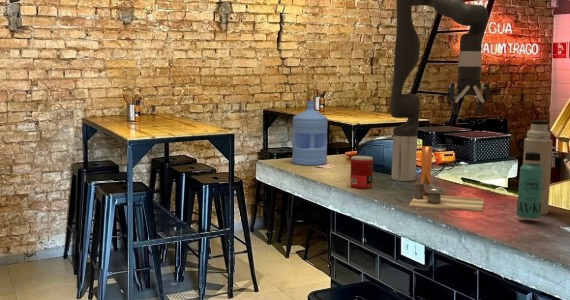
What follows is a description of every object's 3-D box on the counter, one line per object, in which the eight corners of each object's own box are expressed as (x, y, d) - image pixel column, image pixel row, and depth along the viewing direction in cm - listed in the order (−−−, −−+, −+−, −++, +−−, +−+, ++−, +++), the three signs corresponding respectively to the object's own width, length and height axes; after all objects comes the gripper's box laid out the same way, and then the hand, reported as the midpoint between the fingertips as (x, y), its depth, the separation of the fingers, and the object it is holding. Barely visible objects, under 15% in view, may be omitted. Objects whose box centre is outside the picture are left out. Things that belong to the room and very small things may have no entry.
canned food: (371, 189, 231) (372, 159, 230) (349, 188, 233) (349, 158, 231) (373, 185, 238) (373, 156, 237) (351, 184, 240) (352, 155, 239)
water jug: (290, 160, 298) (290, 99, 295) (323, 160, 300) (325, 100, 296) (294, 166, 283) (295, 101, 279) (329, 165, 285) (331, 102, 281)
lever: (445, 203, 205) (448, 152, 203) (427, 202, 205) (429, 152, 203) (432, 192, 221) (434, 146, 219) (415, 192, 221) (417, 146, 219)
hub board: (416, 195, 221) (417, 179, 221) (484, 200, 214) (484, 183, 214) (409, 206, 204) (409, 188, 204) (482, 211, 197) (483, 193, 197)
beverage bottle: (512, 218, 189) (516, 150, 186) (534, 218, 189) (538, 150, 187) (522, 224, 182) (526, 154, 180) (544, 224, 183) (549, 154, 180)
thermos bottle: (519, 208, 203) (525, 119, 200) (547, 210, 201) (553, 120, 197) (520, 213, 196) (525, 121, 192) (548, 215, 193) (554, 122, 190)
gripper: (483, 65, 221) (481, 113, 224) (444, 65, 219) (442, 113, 221) (495, 65, 214) (492, 114, 216) (455, 65, 211) (452, 114, 214)
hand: (467, 113), depth 219 cm, fingers open, 8 cm apart
